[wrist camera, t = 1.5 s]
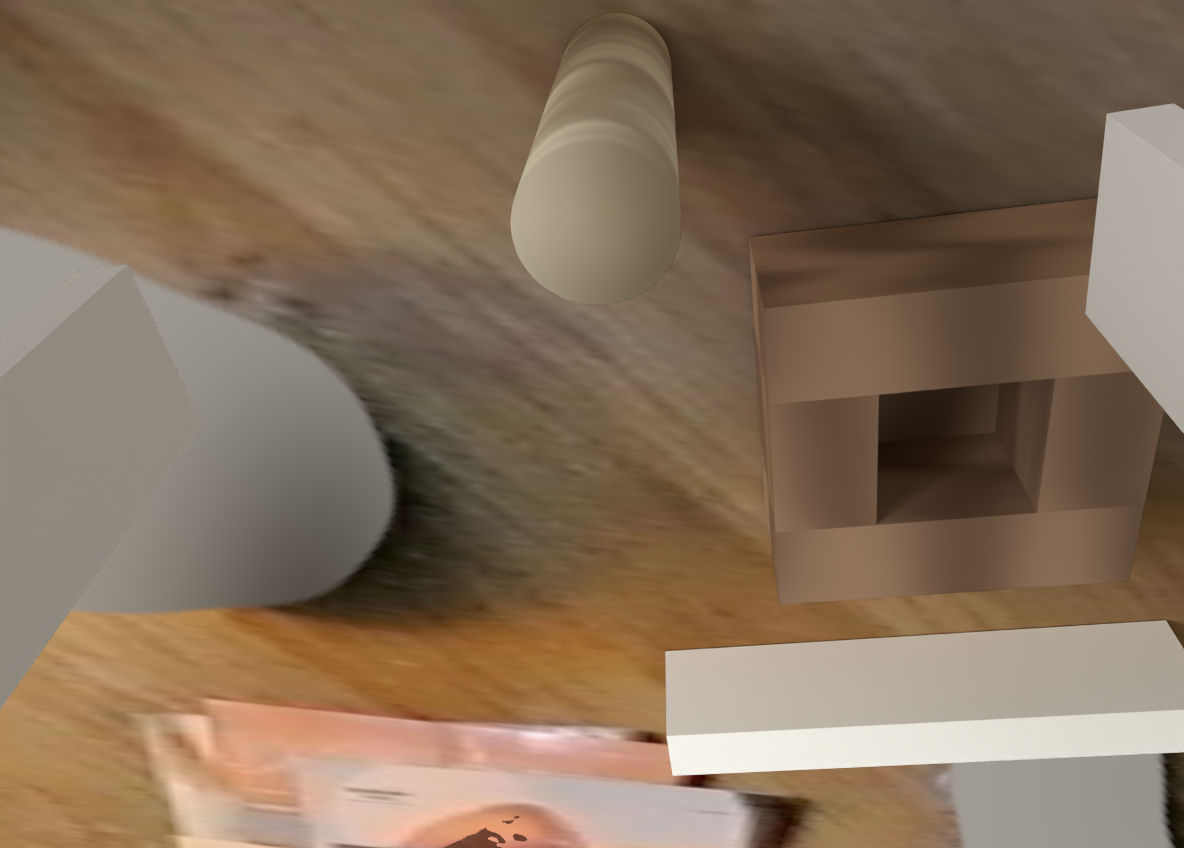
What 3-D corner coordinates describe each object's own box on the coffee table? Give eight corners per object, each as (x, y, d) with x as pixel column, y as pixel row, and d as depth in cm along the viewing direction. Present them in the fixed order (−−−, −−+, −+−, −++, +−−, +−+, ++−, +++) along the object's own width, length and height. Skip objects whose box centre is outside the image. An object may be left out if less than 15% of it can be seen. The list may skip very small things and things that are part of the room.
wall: (671, 689, 42) (672, 775, 39) (665, 651, 41) (666, 736, 37) (1155, 662, 40) (1206, 750, 36) (1165, 620, 39) (1219, 707, 35)
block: (765, 510, 36) (779, 604, 32) (748, 237, 30) (763, 308, 26) (1072, 486, 35) (1128, 581, 31) (1116, 195, 29) (1195, 263, 25)
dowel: (570, 132, 29) (527, 312, 19) (552, 20, 27) (495, 154, 17) (676, 119, 29) (689, 295, 19) (665, 5, 27) (672, 132, 17)
